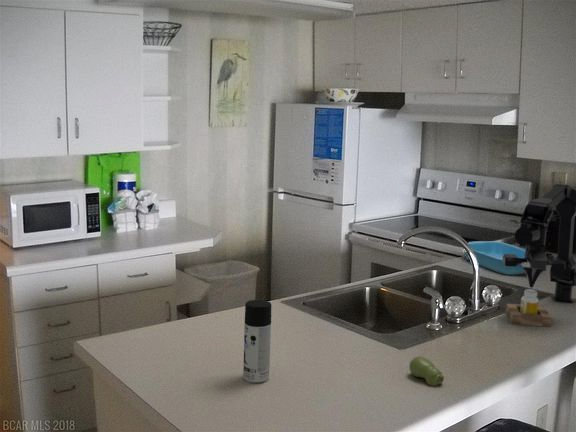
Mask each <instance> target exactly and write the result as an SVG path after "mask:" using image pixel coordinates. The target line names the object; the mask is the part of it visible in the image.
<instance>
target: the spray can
mask: <svg viewBox="0 0 576 432" xmlns="http://www.w3.org/2000/svg"><path fill="white" fill-rule="evenodd" d="M243 330H244V336H243V371H242V372H243V375H242V376H243V380H244V382H248V383H251V384H264V383H266V382H267V381H268V380H269V378H270V368H271V367H270V365H271V359H270V358H271V336H272V335H271V333H272V332H271V331H272V303H271V301H269V300H264V299H263V300H262V299H251V300H248V301H246V302H245V307H244V329H243Z"/></svg>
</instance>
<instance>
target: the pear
mask: <svg viewBox="0 0 576 432" xmlns="http://www.w3.org/2000/svg"><path fill="white" fill-rule="evenodd" d="M408 367H409V371H410V374H412V376H414V377H416V378H421V379H422V378H423V379H424V380H425V381H426V384H428V385H429V386H431V387H436V386H439V385H442V384H443V382H444V380H445V379H444V378H445V376H444V375H443V373H442V371H441V370H440V369H439V368H436V366H435V364H434V363H433V362H432V361H431V360H430V359H428V358H426V357H424V356H416V357H413V358H412V359H411V360H410V362H409V365H408Z"/></svg>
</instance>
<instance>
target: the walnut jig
mask: <svg viewBox="0 0 576 432" xmlns="http://www.w3.org/2000/svg"><path fill="white" fill-rule="evenodd" d="M520 306H521V303H520V304H519V303H508V302H507V303H506V306H505V313H506V315H507V317H508V319H509V321H510V323H511V324H512V325H517V326H518V325H519V326H521V325H522V326H531V327H532V326H533V327H544V328H545V327H546V328H548V327H549V328H552V323H553V321H552V320H553V317H552V315H550V313H549V312H548V310H547V309H546V307H545V305H538V311H537V314H526V313H520Z"/></svg>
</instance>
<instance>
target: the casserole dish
mask: <svg viewBox="0 0 576 432" xmlns="http://www.w3.org/2000/svg"><path fill="white" fill-rule="evenodd" d="M467 243H468V244H469V245H470V246H471V248H472V250H473V251H474V253H475V255H476V257H477V260H478V263H479V265H478V266H481V267H484V268H486V269H487V270H491V271H493V272H497V273H498V274H502V275H509V276H510V275H522V274H525V275H526V272H525V270H524V269H522V267H521V266H520V263H518V265H517V266H515V267H513V266H505V265H504V263H503V262H502V259H503V255H504V254H515V255H516V256H517V257H518V258H525V250H526V249H524V248H521V247H518V246H515V245H513V244H509V243H505V242H501V241H495V240H492V241H491V240H490V241H487V240H486V241H485V240H479V241H478V240H477V241H468V242H467ZM463 251H464V255H465V257H466V259H467V260H468V261H470V260H469V257H468V255H467V254H466V252H465V250H464V249H463ZM532 269H533V268H532ZM532 272H533V270H532Z"/></svg>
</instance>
